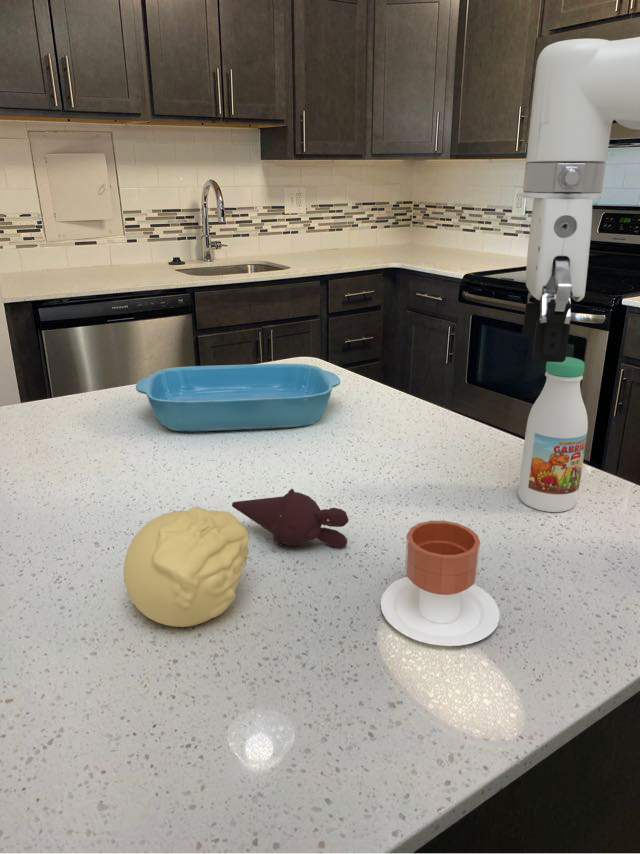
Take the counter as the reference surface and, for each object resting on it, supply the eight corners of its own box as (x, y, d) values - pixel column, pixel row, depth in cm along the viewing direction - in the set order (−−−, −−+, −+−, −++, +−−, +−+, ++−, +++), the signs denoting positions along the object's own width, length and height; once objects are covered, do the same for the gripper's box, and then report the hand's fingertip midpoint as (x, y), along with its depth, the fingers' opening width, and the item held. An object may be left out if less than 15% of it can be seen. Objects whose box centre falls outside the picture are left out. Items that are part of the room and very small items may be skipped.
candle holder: (384, 575, 75) (385, 541, 73) (493, 584, 73) (497, 550, 71) (376, 645, 64) (377, 607, 62) (505, 658, 62) (509, 619, 60)
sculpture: (199, 658, 62) (191, 558, 58) (105, 618, 67) (93, 525, 63) (267, 594, 71) (264, 505, 67) (180, 564, 77) (173, 479, 73)
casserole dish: (328, 391, 136) (328, 358, 134) (350, 431, 116) (351, 392, 113) (144, 401, 131) (141, 366, 128) (133, 443, 110) (129, 403, 108)
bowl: (467, 558, 70) (471, 520, 68) (482, 597, 63) (487, 557, 62) (401, 558, 70) (403, 520, 68) (409, 597, 63) (412, 557, 62)
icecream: (216, 502, 77) (339, 532, 73) (242, 464, 83) (357, 490, 79) (221, 544, 81) (338, 574, 78) (246, 504, 87) (355, 531, 83)
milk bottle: (506, 499, 92) (522, 359, 85) (536, 483, 97) (554, 349, 89) (557, 519, 86) (579, 372, 79) (586, 501, 91) (609, 360, 84)
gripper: (623, 184, 58) (594, 373, 64) (585, 181, 74) (564, 332, 80) (534, 184, 59) (514, 369, 65) (515, 181, 75) (500, 330, 81)
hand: (542, 349), depth 73 cm, fingers open, 9 cm apart
